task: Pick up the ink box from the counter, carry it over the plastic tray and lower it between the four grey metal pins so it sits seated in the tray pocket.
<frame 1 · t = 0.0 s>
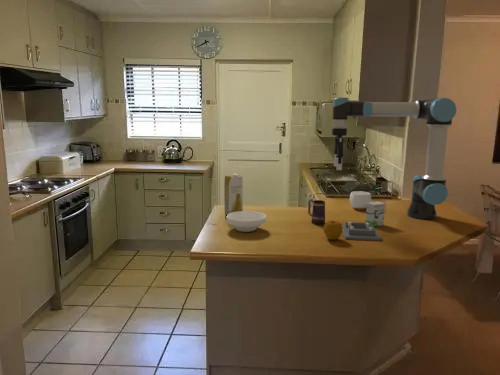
hand: (337, 168, 213), 28 cm above the table, fingers open, 13 cm apart
apple: (332, 239, 184), on the table
ink box: (374, 225, 208), on the table
mug: (315, 222, 212), on the table
juice carton: (233, 216, 224), on the table
tray: (359, 233, 193), on the table
bowl: (246, 230, 198), on the table
cup: (359, 209, 242), on the table
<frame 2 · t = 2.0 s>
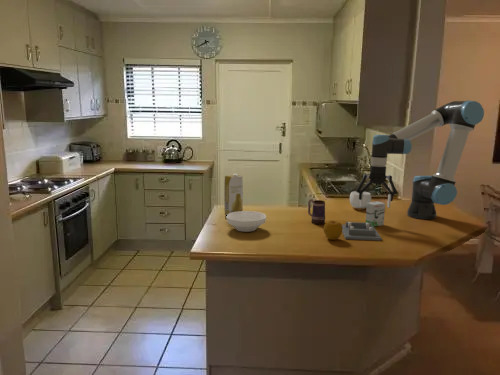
hand: (374, 206, 206), 10 cm above the table, fingers open, 13 cm apart
nothing on the table moved.
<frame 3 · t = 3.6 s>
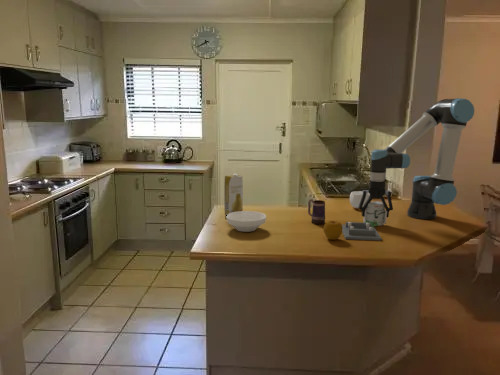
hand: (374, 222, 208), 1 cm above the table, fingers closed on ink box, 9 cm apart
ink box: (374, 225, 208), on the table, touching gripper
everything else where it was.
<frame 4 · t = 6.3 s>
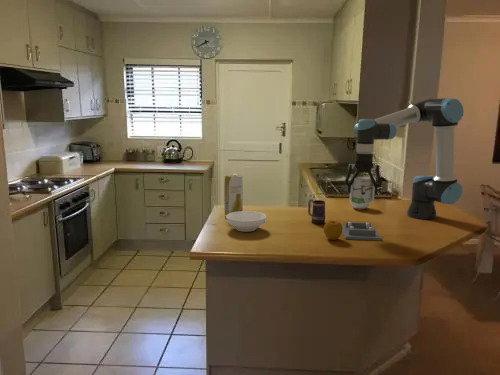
hand: (361, 199, 190), 16 cm above the table, fingers closed on ink box, 9 cm apart
ink box: (361, 202, 191), point 15 cm above the table, touching gripper
everything else where it was.
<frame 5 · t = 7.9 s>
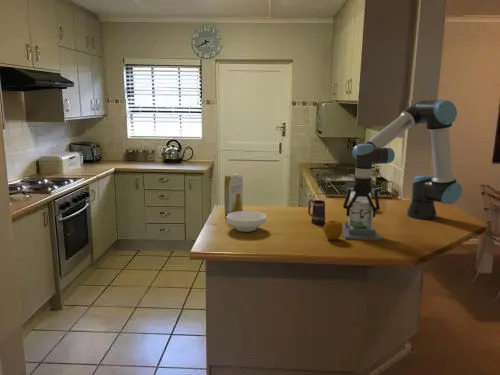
hand: (360, 223, 192), 5 cm above the table, fingers closed on ink box, 9 cm apart
ink box: (360, 225, 193), point 4 cm above the table, touching gripper
everything else where it was.
when the fingers open (4 cm above the table, at t = 8.9 s): ink box drops 2 cm, resting on tray.
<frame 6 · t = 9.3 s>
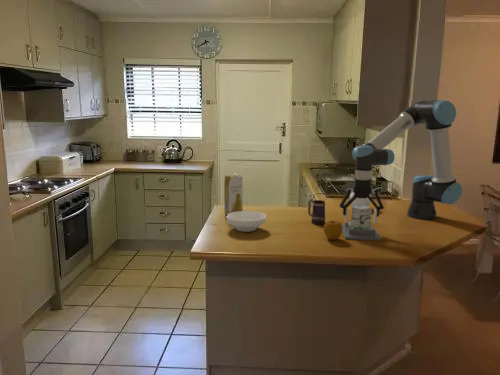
hand: (360, 222, 192), 5 cm above the table, fingers open, 13 cm apart
ink box: (360, 231, 193), point 1 cm above the table, touching tray
everything else where it was.
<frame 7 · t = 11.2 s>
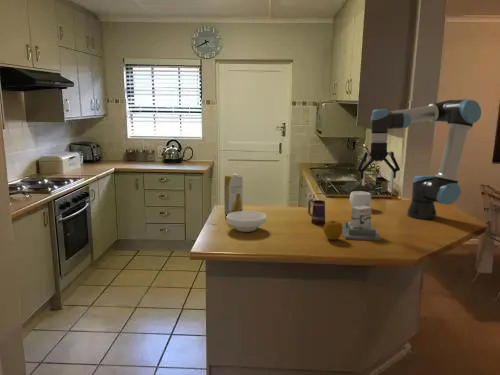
hand: (377, 185, 198), 22 cm above the table, fingers open, 13 cm apart
nothing on the table moved.
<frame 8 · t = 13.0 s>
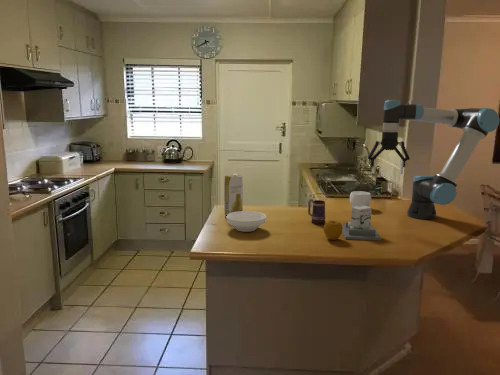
hand: (387, 173, 204), 27 cm above the table, fingers open, 13 cm apart
nothing on the table moved.
at the end: ink box 0.2 cm off-centre on the tray, point 1.0 cm above the tray's base; ink box tilted 0°; the gripper is holding nothing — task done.
